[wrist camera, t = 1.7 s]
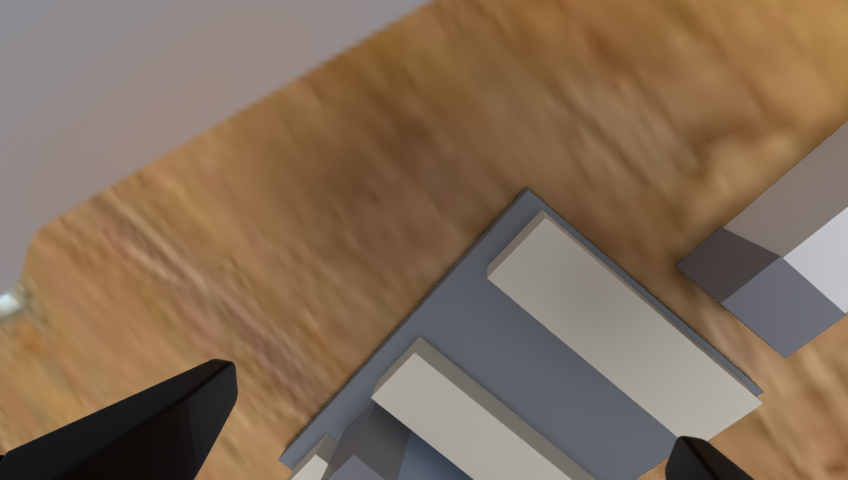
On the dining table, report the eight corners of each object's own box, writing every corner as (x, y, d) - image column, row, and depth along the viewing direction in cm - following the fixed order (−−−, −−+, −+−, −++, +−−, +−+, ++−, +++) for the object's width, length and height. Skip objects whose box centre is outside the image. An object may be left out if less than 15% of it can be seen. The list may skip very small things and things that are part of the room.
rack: (750, 378, 20) (785, 414, 17) (461, 581, 26) (457, 628, 24) (526, 186, 19) (531, 196, 16) (286, 446, 25) (265, 480, 23)
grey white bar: (902, 69, 15) (1034, 55, 12) (962, 126, 16) (1111, 129, 12) (675, 265, 19) (721, 303, 15) (726, 310, 19) (785, 358, 15)
